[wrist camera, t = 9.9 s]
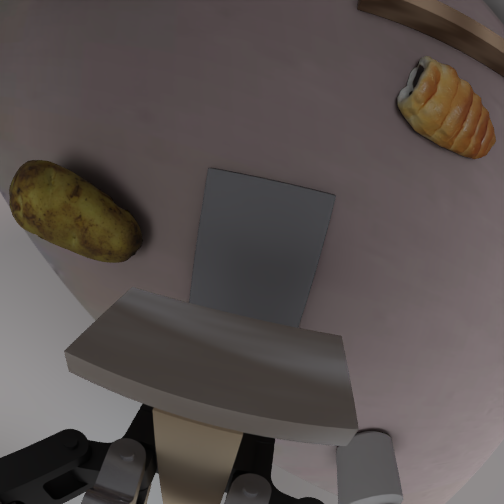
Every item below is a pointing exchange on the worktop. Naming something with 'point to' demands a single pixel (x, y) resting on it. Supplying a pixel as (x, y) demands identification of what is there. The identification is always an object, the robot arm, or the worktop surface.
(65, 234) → the potato
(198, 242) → the mat
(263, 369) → the scraper
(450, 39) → the rail
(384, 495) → the can
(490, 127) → the pastry
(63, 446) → the robot arm
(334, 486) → the worktop surface
